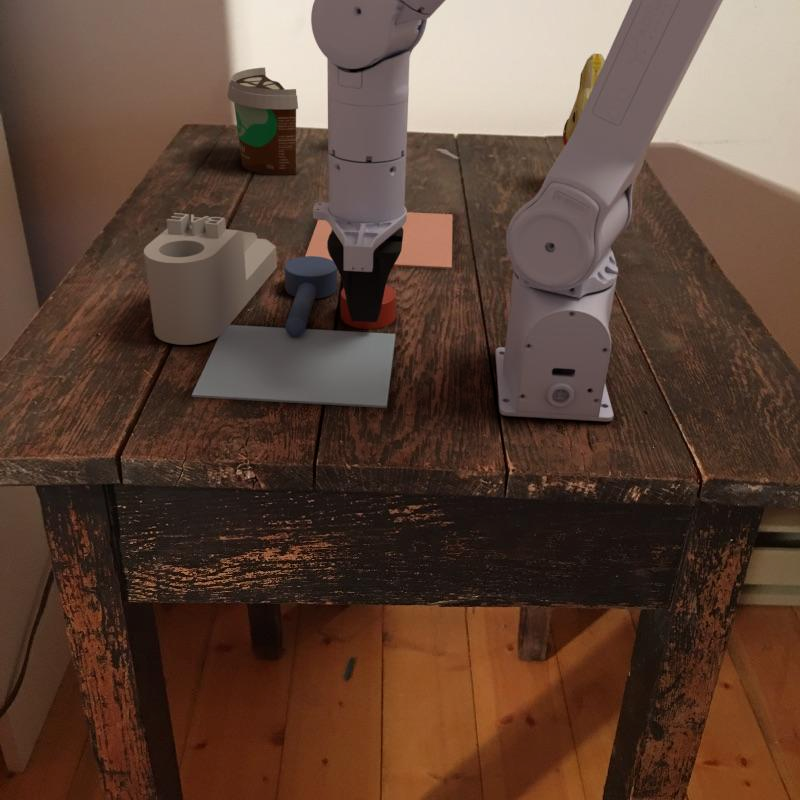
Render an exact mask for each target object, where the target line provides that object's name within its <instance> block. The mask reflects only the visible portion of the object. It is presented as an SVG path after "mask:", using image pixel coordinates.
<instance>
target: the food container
mask: <svg viewBox="0 0 800 800" xmlns="http://www.w3.org/2000/svg"><path fill="white" fill-rule="evenodd" d="M227 99H228V100H229V101H231V102H233V107H234V115H235V121H236V128H237V136H238V144H239V151H240V159H241V165H242V167H243V168H245V169H246V170H248V171H250V172H254V173H257V174H263V175H274V176H289V175H291V176H292V175H296V174H297V110H298V109H299V102H298V101H299V100H298V95H297V88H289V89H285V88H284V87H283V85H282V84H281V83H280V82H279V81H276V80H272V79H270V78H269V77H267V75H266V67H255V68H249V69H244V70H240V71H237V72H236V73H234V74H232V75H231V79H230V81H229V83H228V89H227Z"/></svg>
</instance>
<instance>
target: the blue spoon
mask: <svg viewBox="0 0 800 800" xmlns="http://www.w3.org/2000/svg"><path fill="white" fill-rule="evenodd" d="M283 268H284V290H285V292H286V293H287V294H288V295H290V296H292V297H293V298H294V299H293V302H292V304H291V307H290V310H289V313H288V316H287V318H286V321H285V324H284V328H285V330H286V332H287V333H288V334H289V335H290V336H293V337H297V336H300V335H301V334H303V332H304V330H305V329H306V328H307V325H308V321H309V318H310V314H311V312H312V309H313V306H314V302H315V300H320V299H324V298H327V297H330V296H332V295H334V294H335V293H336V292H337V290H338V269H337V267H336V265H335V263H334V261H332V260H330V259H327V258H324V257H317V256H305V255H304V256H297V257H295V258H294V257H293V258H291V259H289V260H288V261H286V262H285V264H284V267H283Z"/></svg>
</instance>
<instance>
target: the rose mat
mask: <svg viewBox="0 0 800 800" xmlns="http://www.w3.org/2000/svg"><path fill="white" fill-rule="evenodd" d="M453 217H454V215H453V214H452V213H451V214H449V213H433V212H432V213H430V212H411V211H407V220H406V222H405V224H404V225H403V226H402V228H403V230H404V231H403V241H402V249H401V253H400V255H399V257H398V259H397V261H396V262H395V264H394V265H393V267H402V268H403V267H405V268H406V267H407V268H426V269H443V270H452V268H453ZM331 231H332V228H331V226H330V225H329V223H328V222H327V221H325V220H317V223H316V225H315V228H314V230H313V234H312V235H311V239H310V242H309V244H308V246H307V250H306V252H305V255H304V256H317V257H324V258H327V259H330V260H332V258H331V257H330V255H329V252H328V249H327V241H328V238H329V235H330V234H331ZM332 261H333V260H332Z"/></svg>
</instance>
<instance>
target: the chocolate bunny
mask: <svg viewBox="0 0 800 800" xmlns="http://www.w3.org/2000/svg"><path fill="white" fill-rule="evenodd" d="M605 60H606V59H605V57H604V55H603V54H602V53H592V54H591V55H589V57H588V58H587V60H586V62H585V64H584V66H583V68H582V70H581V72H580V76H579V77H580V78H579V87H578V92H577V95H576V98H575V101H574V104H573V106H572V109H571V112H570V114H569V117H568V119H566V122H565V123H564V126H563V132H562V144H561V145H562V146H561V151H560V153H561V152H562V150H563V148H564V147H565V145H566V144H567V142H568V140H569V139H570V137H571V135H572V133H573V131H574V129H575V127H576V125H577V122H578V120H579V118H580V116H581V113H582V111H583V109H584V107H585V104H586V102H587V100H588V98H589V96H590V93H591V91H592V89H593V87H594V84H595V82H596V80H597V78H598V75H599V73H600V71H601V69H602V67H603V64H604V62H605Z"/></svg>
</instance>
